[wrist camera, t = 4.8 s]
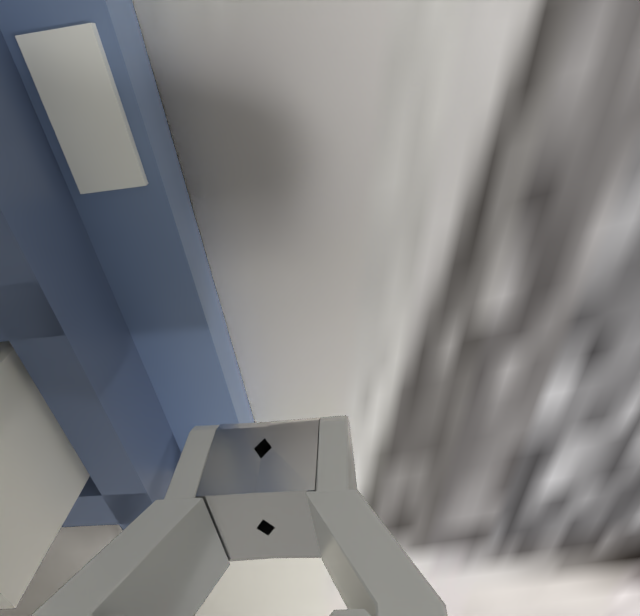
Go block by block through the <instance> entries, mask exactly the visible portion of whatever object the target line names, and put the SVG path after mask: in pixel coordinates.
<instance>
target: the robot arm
mask: <svg viewBox="0 0 640 616" xmlns="http://www.w3.org/2000/svg"><path fill="white" fill-rule="evenodd" d="M268 558H322V561H323V563H324V565H325V567H326V569H327V571H328V572H329V574H330V576H331V578H332V580H333V582H334V584H335V586H336V588H337V589H338V591H339V593H340V595H341V597H342V599H343V601H344V603H345V605H346V606H347V608H348V609H347V610H334V611H333V612H332V613H331V614H330V616H447V610H446V605H445V603H444V602H443V601H442V600H441V598H440V597H439V596H438V594H437V593H436V592H435V590H434V589H433V588H432V586H431V585H430V584H429V583H428V581H427V580H426V579H425V577H424V576H423V575H422V573H421V572H420V571H419V569H418V568H417V567H416V566H415V564H414V563H413V562H412V560H411V559H410V558H409V556H408V555H407V554H406V553H405V551H404V550H403V549H402V547H401V546H400V545H399V543H398V542H397V541H396V539H395V538H394V537H393V536H392V534H391V533H390V532H389V530H388V529H387V528H386V526H385V525H384V524H383V522H382V521H381V520H380V519H379V517H378V516H377V515H376V513H375V512H374V511H373V509H372V508H371V507H370V506H369V504H368V503H367V502H366V500H365V499H364V498H363V496H362V495H361V494H360V492H359V491H358V490H357V484H356V474H355V464H354V455H353V447H352V440H351V432H350V425H349V419H348V416H346V415H345V416H333V417H321V418H310V419H297V420H285V421H272V422H260V423H238V424H220V425H205V426H195V427H194V428H193V429H192V430H191V431H190V432H189V435H188V437H187V440H186V443H185V445H184V448H183V451H182V453H181V456H180V458H179V461H178V464H177V466H176V469H175V472H174V474H173V477H172V479H171V482H170V485H169V487H168V490H167V493H166V495H165V498H164V499H163V500H156V501H154V502H153V503H152V504H151V505H150V506H149V507H148V508H147V509H146V510H145V511H144V512H143V513H141V514H140V515H139V516H138V517H137V518H136V519H135V520H134V521H133V522H132V523H131V524H130V525H128V526H127V527H126V528H125V529H124V530H123V531H122V532H121V533H120V534H119V535H118V536H117V537H115V538H114V539H113V540H112V541H111V542H110V543H109V544H108V545H107V546H106V547H105V548H104V549H102V550H101V551H100V552H99V553H98V554H97V555H96V556H95V557H94V558H93V559H92V560H91V561H89V562H88V563H87V564H86V565H85V566H84V567H83V568H82V569H81V570H80V571H79V572H78V573H77V574H75V575H74V576H73V577H72V578H71V579H70V580H69V581H68V582H67V583H66V584H65V585H64V586H62V587H61V588H60V589H59V590H58V591H57V592H56V593H55V594H54V595H53V596H52V597H51V598H49V599H48V600H47V601H46V602H45V603H44V604H43V605H42V606H41V607H40V608H39V609H38V610H36V611H35V612H34V613H33V614H32V616H194V615H195V614H196V612H197V611H198V609H199V608H200V606H201V605H202V604H203V602H204V601H205V599H206V598H207V596H208V595H209V594H210V592H211V591H212V589H213V588H214V586H215V585H216V584H217V582H218V581H219V579H220V578H221V576H222V575H223V574H224V572H225V571H226V569H227V568H228V566H229V565H230V562H229V561H239V560H254V559H268Z"/></svg>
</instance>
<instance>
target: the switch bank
mask: <svg viewBox="0 0 640 616" xmlns="http://www.w3.org/2000/svg"><path fill="white" fill-rule="evenodd" d="M4 341H9V342H10V343H11V345H12V347H13V348H14V350H15V352H16V353H17V355H18V357H19V358H20V360H21V362H22V363H23V365H24V367H25V368H26V370H27V372H28V373H29V375H30V377H31V378H32V380H33V382H34V383H35V385H36V387H37V388H38V390H39V392H40V393H41V395H42V397H43V398H44V400H45V402H46V403H47V405H48V407H49V408H50V410H51V412H52V413H53V415H54V417H55V418H56V420H57V422H58V423H59V425H60V427H61V428H62V430H63V432H64V433H65V435H66V437H67V438H68V440H69V442H70V443H71V445H72V447H73V448H74V450H75V452H76V453H77V455H78V457H79V458H80V460H81V462H82V463H83V465H84V467H85V468H86V470H87V472H88V473H89V475H90V477H89V478H88V480H87V482H86V484H85V486H84V487H83V489H82V491H81V493H80V495H79V496H78V498H77V500H76V502H75V503H74V505H73V507H72V509H71V511H70V512H69V514H68V516H67V518H66V519H65V521H64V523H63V525H62V527H75V526H95V525H115V524H119V525H120V527H121V528H122V530H124V529H125V528H126V527H127V526H128V525H130V524H131V523H132V522H133V521H134V520H135V519H136V518H137V517H138V516H139V515H140V514H141V513H143V512H144V511H145V510H146V509H147V508H148V507H149V506H150V505H151V504H152V503H153V502H154V501H156V500H163V499H164V498H165V495H166V493H167V490H168V487H169V485H170V482H171V479H172V477H173V474H174V472H175V469H176V466H177V464H178V461H179V458H180V456H181V453H182V451H183V448H184V445H185V443H186V440H187V437H188V435H189V432H190V431H191V430H192V429H193V428H194V427H195V426H205V425H220V424H238V423H255V422H254V418H253V415H252V411H251V408H250V405H249V401H248V398H247V394H246V391H245V387H244V384H243V380H242V377H241V374H240V370H239V367H238V363H237V360H236V356H235V353H234V350H233V346H232V343H231V339H230V336H229V332H228V329H227V325H226V322H225V319H224V315H223V312H222V308H221V305H220V301H219V298H218V295H217V291H216V288H215V284H214V281H213V277H212V274H211V271H210V267H209V264H208V260H207V257H206V253H205V250H204V246H203V243H202V240H201V236H200V233H199V229H198V226H197V222H196V219H195V216H194V212H193V209H192V205H191V202H190V198H189V195H188V192H187V188H186V185H185V181H184V178H183V174H182V171H181V167H180V164H179V161H178V157H177V154H176V150H175V147H174V143H173V140H172V137H171V133H170V130H169V126H168V123H167V119H166V116H165V112H164V109H163V106H162V102H161V99H160V95H159V92H158V88H157V85H156V82H155V78H154V75H153V71H152V68H151V64H150V61H149V58H148V54H147V51H146V47H145V44H144V40H143V37H142V33H141V30H140V27H139V23H138V20H137V16H136V13H135V9H134V6H133V3H132V0H0V342H4Z"/></svg>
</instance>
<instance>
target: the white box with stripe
mask: <svg viewBox="0 0 640 616" xmlns="http://www.w3.org/2000/svg"><path fill="white" fill-rule="evenodd" d="M89 477H90V475H89V473H88V472H87V470H86V468H85V467H84V465H83V463H82V462H81V460H80V458H79V457H78V455H77V453H76V452H75V450H74V448H73V447H72V445H71V443H70V442H69V440H68V438H67V437H66V435H65V433H64V432H63V430H62V428H61V427H60V425H59V423H58V422H57V420H56V418H55V417H54V415H53V413H52V412H51V410H50V408H49V407H48V405H47V403H46V402H45V400H44V398H43V397H42V395H41V393H40V392H39V390H38V388H37V387H36V385H35V383H34V382H33V380H32V378H31V377H30V375H29V373H28V372H27V370H26V368H25V367H24V365H23V363H22V362H21V360H20V358H19V357H18V355H17V353H16V352H15V350H14V348H13V347H12V345H11V343H10V342H9V341H4V342H0V609H16V607H17V605H18V603H19V601H20V600H21V598H22V596H23V594H24V593H25V591H26V589H27V587H28V585H29V584H30V582H31V580H32V578H33V576H34V575H35V573H36V571H37V569H38V568H39V566H40V564H41V562H42V560H43V559H44V557H45V555H46V553H47V552H48V550H49V548H50V546H51V544H52V543H53V541H54V539H55V537H56V535H57V534H58V532H59V530H60V528H61V527H62V525H63V523H64V521H65V519H66V518H67V516H68V514H69V512H70V511H71V509H72V507H73V505H74V503H75V502H76V500H77V498H78V496H79V495H80V493H81V491H82V489H83V487H84V486H85V484H86V482H87V480H88V478H89Z"/></svg>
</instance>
